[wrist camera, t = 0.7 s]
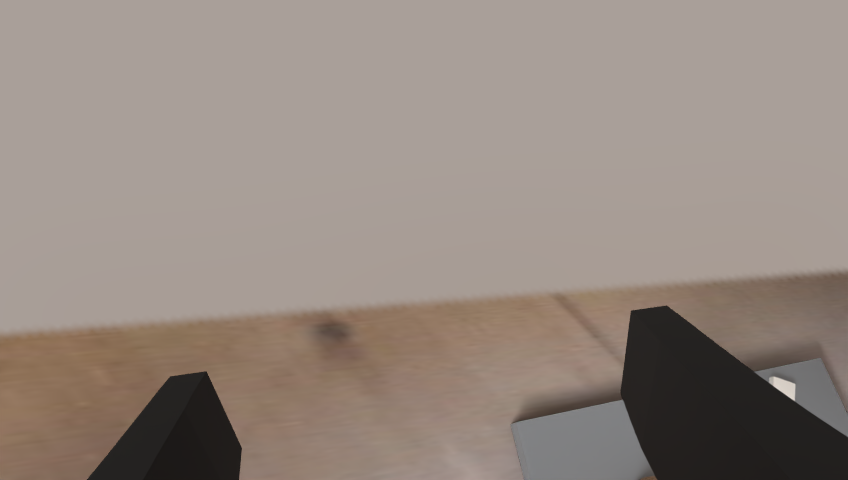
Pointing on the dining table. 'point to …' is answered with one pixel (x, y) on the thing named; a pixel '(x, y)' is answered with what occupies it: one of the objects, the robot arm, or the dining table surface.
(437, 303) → the dining table surface
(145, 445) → the robot arm
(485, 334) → the dining table surface
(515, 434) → the stand
